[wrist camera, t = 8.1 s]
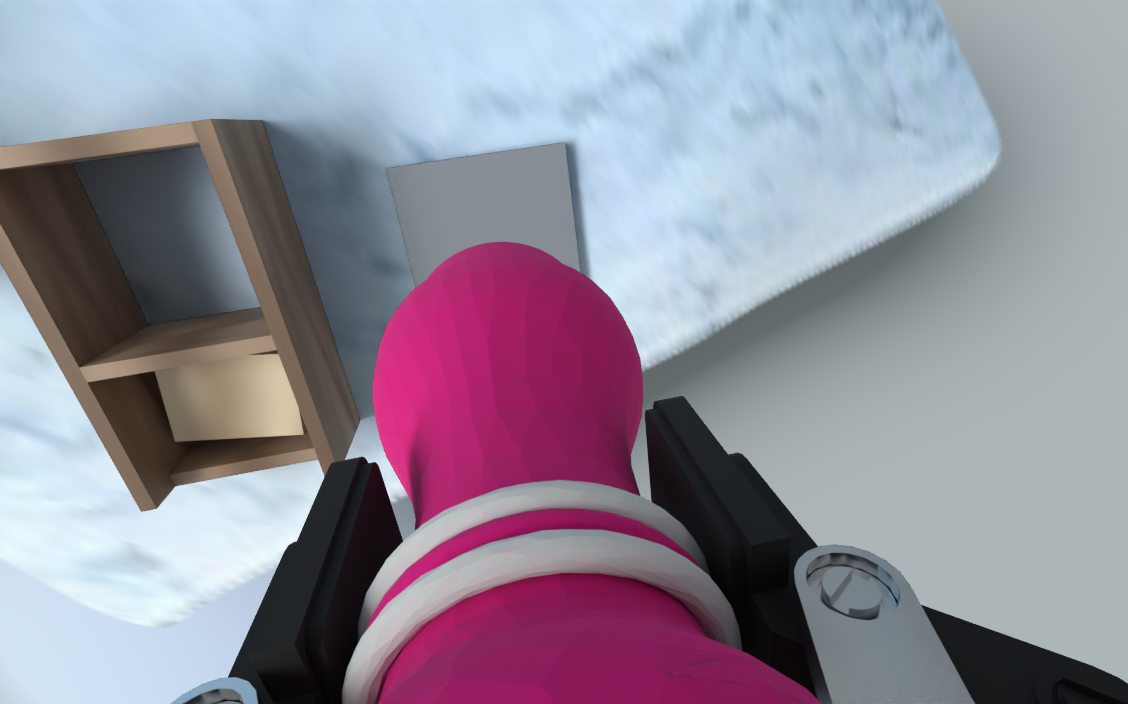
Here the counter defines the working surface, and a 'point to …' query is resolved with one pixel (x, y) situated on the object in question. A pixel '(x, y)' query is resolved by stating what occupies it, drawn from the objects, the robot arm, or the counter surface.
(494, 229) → the mat
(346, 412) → the box
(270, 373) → the upper offcut
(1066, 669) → the robot arm
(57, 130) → the counter surface
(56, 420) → the counter surface
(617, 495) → the pepper mill
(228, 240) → the counter surface
